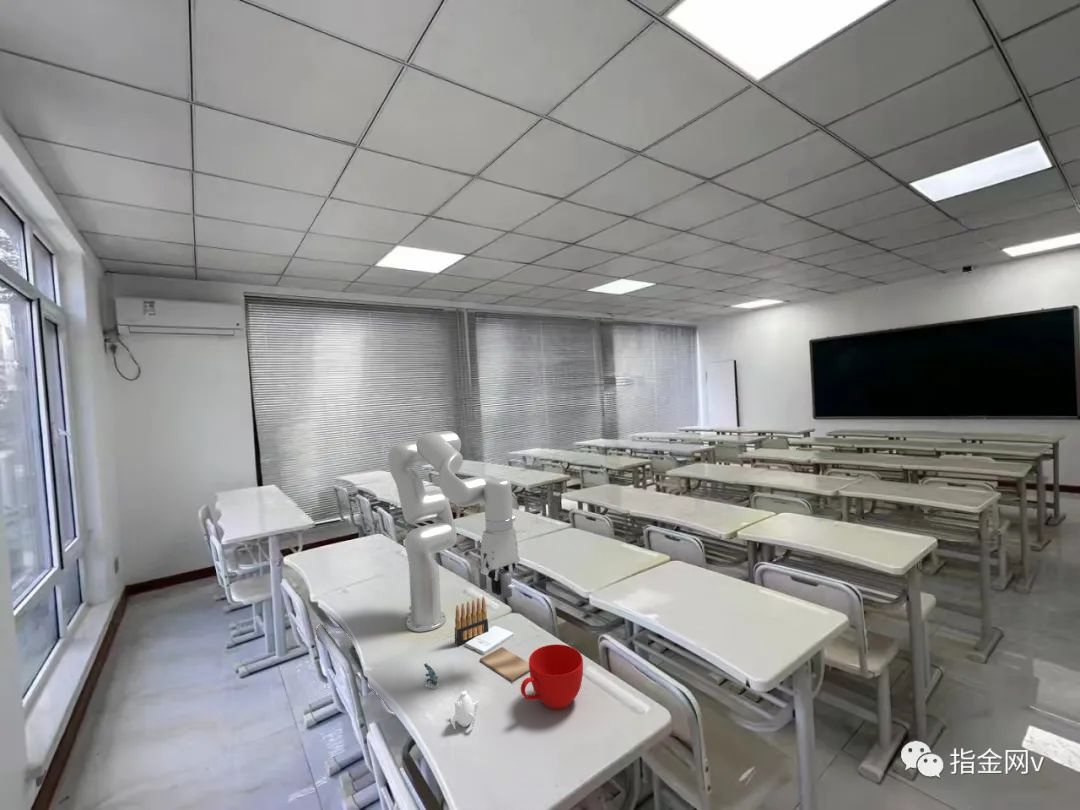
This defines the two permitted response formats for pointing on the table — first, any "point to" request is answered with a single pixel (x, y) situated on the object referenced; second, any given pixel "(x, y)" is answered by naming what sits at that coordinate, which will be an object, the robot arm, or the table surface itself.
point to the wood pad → (506, 664)
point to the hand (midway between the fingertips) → (501, 590)
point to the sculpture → (431, 678)
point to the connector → (505, 583)
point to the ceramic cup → (554, 675)
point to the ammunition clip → (470, 622)
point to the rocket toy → (464, 711)
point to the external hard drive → (489, 640)
